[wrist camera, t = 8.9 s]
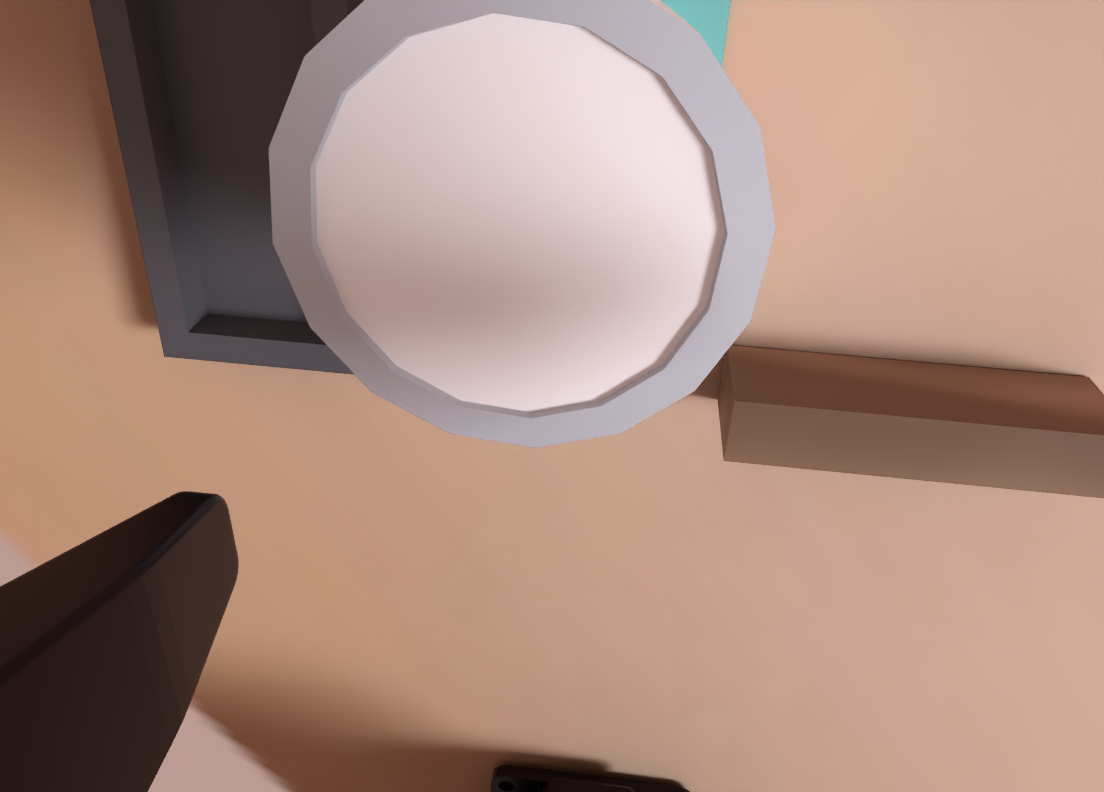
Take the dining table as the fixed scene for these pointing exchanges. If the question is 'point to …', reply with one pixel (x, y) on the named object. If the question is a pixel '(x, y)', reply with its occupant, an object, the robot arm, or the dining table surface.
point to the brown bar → (913, 420)
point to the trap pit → (212, 166)
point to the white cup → (521, 210)
